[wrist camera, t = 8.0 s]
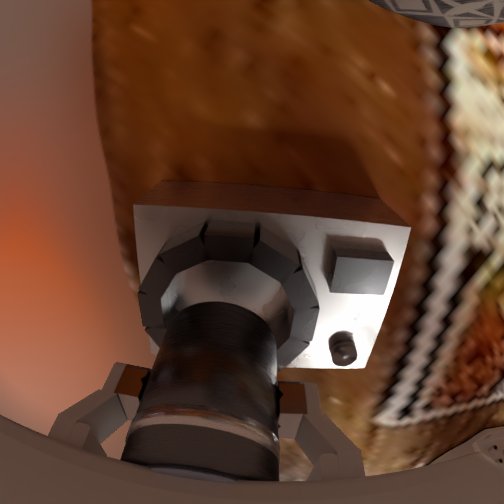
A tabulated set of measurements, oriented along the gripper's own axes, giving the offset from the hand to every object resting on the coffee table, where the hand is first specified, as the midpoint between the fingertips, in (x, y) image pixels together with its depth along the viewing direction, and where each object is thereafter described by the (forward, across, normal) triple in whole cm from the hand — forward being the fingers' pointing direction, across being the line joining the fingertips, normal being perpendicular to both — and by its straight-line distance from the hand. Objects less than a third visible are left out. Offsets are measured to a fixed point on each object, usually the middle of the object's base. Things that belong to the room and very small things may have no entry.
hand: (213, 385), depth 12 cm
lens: (+2, 0, 0) cm, 2 cm away
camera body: (+11, -2, 0) cm, 11 cm away
